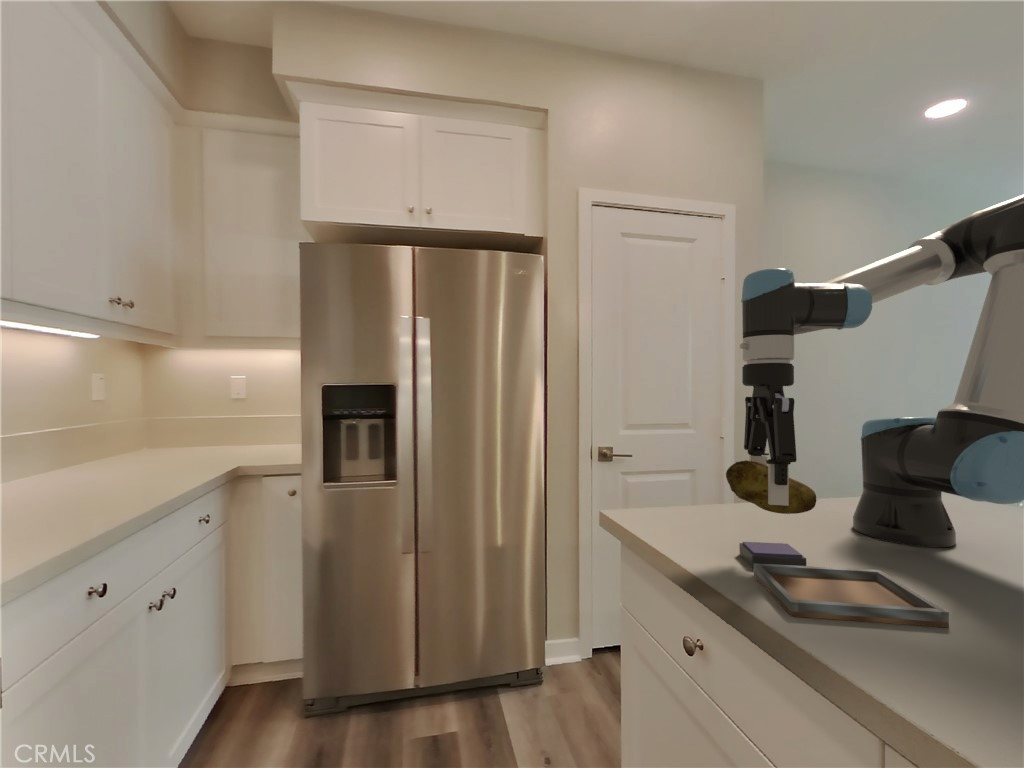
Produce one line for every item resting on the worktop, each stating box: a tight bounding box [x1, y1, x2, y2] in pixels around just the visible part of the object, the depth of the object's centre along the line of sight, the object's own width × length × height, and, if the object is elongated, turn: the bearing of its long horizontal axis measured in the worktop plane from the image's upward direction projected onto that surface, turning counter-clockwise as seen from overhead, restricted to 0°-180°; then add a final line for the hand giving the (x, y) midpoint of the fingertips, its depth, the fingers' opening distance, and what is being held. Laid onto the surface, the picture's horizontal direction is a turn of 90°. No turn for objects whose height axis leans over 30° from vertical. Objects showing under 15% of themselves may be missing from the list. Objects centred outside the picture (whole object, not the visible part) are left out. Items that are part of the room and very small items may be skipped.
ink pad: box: [739, 541, 807, 569], centre depth 73 cm, size 8×6×2 cm
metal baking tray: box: [753, 563, 950, 628], centre depth 60 cm, size 18×13×2 cm
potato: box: [725, 459, 818, 515], centre depth 73 cm, size 8×13×8 cm, turn 52°
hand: (767, 498), depth 73 cm, fingers closed on potato, 7 cm apart
